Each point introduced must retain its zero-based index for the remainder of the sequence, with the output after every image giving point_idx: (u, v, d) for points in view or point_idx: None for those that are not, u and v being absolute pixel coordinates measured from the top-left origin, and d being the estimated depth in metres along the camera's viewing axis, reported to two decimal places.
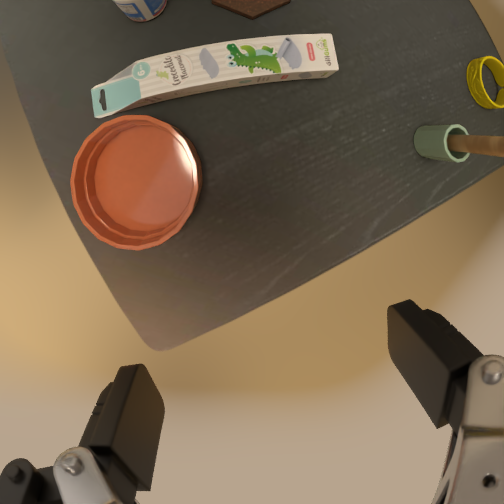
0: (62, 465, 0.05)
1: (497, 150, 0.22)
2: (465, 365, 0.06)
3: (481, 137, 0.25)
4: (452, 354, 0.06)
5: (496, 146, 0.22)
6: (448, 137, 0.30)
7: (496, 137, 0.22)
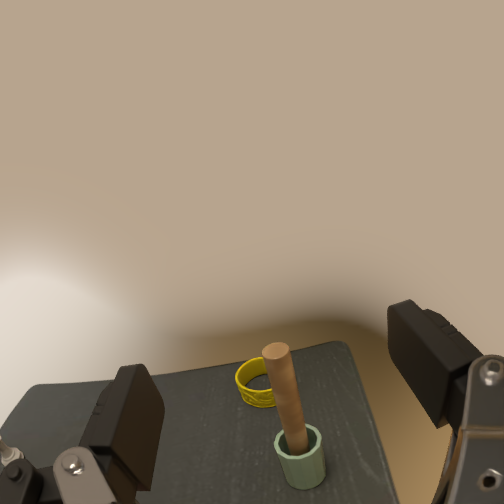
0: (62, 465, 0.05)
1: (285, 395, 0.23)
2: (465, 365, 0.06)
3: (278, 412, 0.24)
4: (452, 354, 0.06)
5: (280, 396, 0.23)
6: (290, 451, 0.26)
7: (273, 394, 0.24)
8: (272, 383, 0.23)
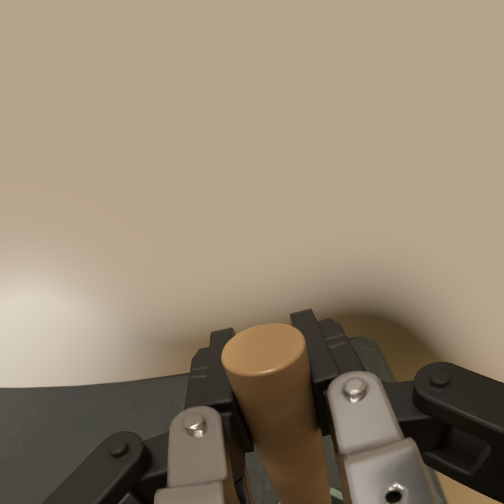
0: (183, 423, 0.06)
1: (292, 466, 0.08)
2: (333, 378, 0.07)
3: (274, 489, 0.09)
4: (324, 366, 0.07)
5: (279, 468, 0.08)
6: None
7: None
8: (256, 438, 0.07)
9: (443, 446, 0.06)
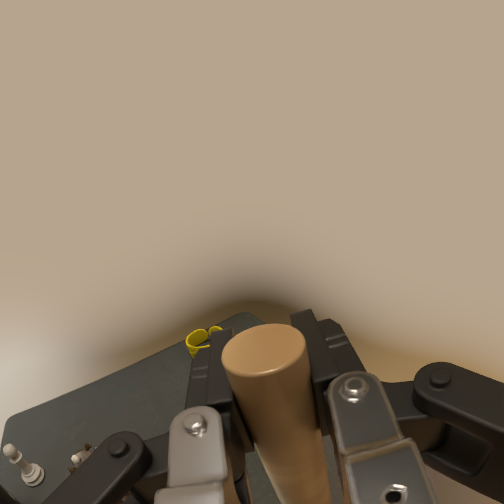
0: (183, 423, 0.06)
1: (293, 467, 0.08)
2: (333, 378, 0.07)
3: None
4: (323, 366, 0.07)
5: (279, 468, 0.08)
6: None
7: None
8: (256, 439, 0.07)
9: (443, 446, 0.06)
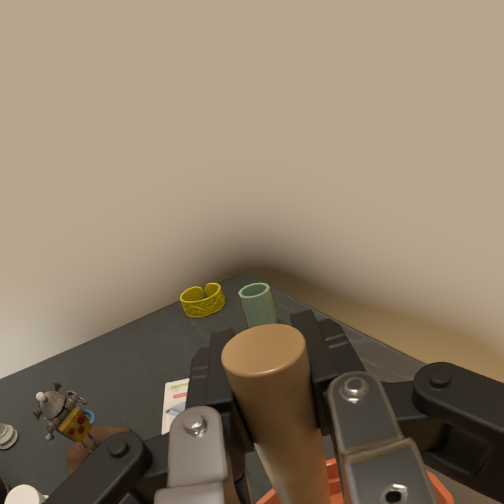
0: (183, 423, 0.06)
1: (292, 467, 0.08)
2: (333, 378, 0.07)
3: (274, 489, 0.09)
4: (323, 366, 0.07)
5: (279, 468, 0.08)
6: None
7: None
8: (256, 439, 0.07)
9: (443, 446, 0.06)
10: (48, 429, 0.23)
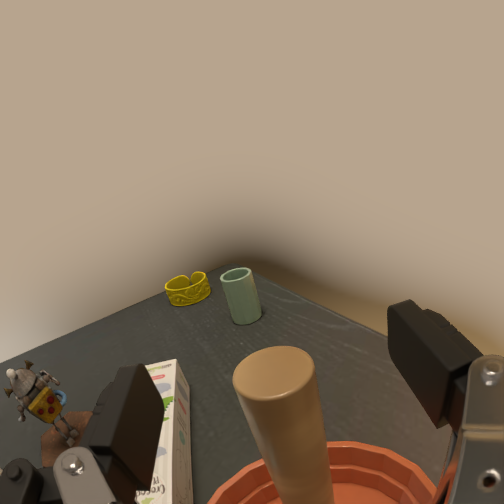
0: (62, 465, 0.05)
1: (299, 479, 0.08)
2: (465, 365, 0.06)
3: (280, 498, 0.09)
4: (452, 354, 0.06)
5: (287, 481, 0.08)
6: None
7: None
8: (265, 454, 0.08)
9: None
10: (18, 408, 0.22)
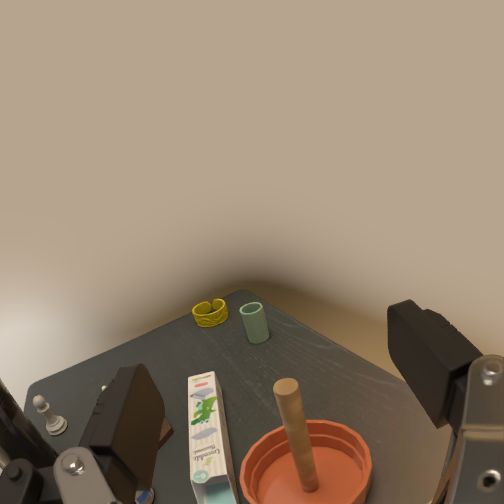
0: (62, 465, 0.05)
1: (294, 424, 0.24)
2: (465, 365, 0.06)
3: (287, 437, 0.26)
4: (452, 354, 0.06)
5: (290, 425, 0.24)
6: (297, 469, 0.27)
7: None
8: (282, 414, 0.24)
9: None
10: None
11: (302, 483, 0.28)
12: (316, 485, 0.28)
